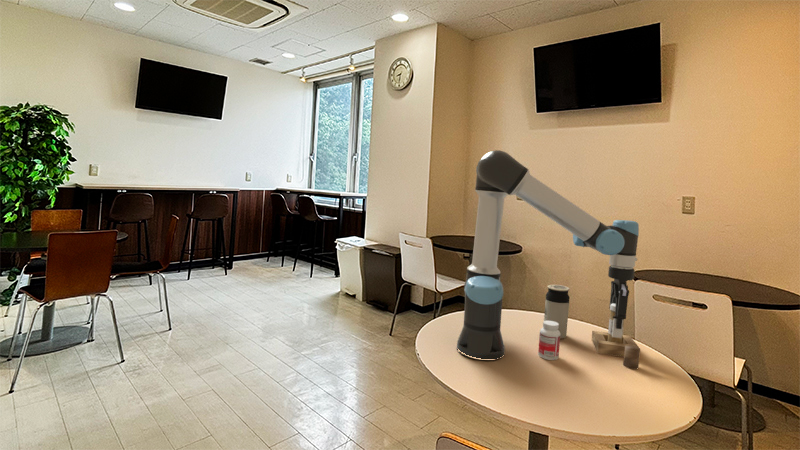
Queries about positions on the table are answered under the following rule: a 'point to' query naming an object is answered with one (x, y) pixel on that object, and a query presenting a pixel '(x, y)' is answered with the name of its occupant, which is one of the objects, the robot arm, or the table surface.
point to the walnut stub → (631, 356)
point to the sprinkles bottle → (611, 320)
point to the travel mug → (557, 307)
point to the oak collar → (610, 344)
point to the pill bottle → (549, 340)
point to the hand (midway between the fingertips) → (615, 334)
